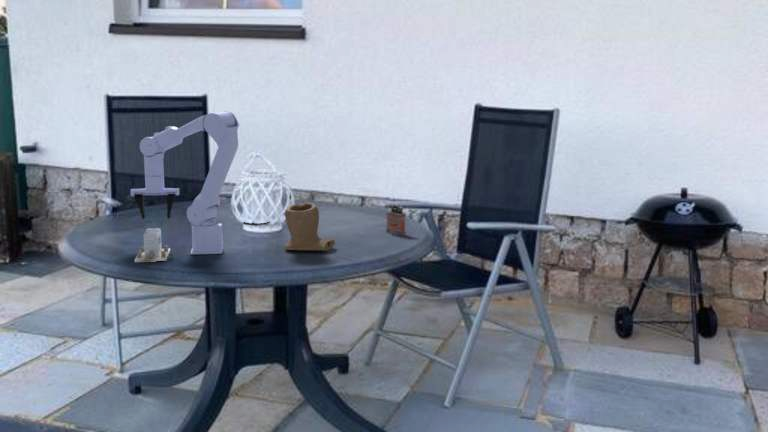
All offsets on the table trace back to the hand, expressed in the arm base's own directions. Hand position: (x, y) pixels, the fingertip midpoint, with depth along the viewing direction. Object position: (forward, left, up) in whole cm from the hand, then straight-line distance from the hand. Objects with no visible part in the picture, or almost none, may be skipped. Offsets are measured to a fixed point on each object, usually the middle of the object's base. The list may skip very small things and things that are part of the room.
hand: (156, 217), depth 249 cm
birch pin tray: (0, +12, -9) cm, 15 cm away
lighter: (-79, -12, -10) cm, 80 cm away
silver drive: (0, +12, -9) cm, 15 cm away
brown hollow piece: (-47, +10, -10) cm, 49 cm away
